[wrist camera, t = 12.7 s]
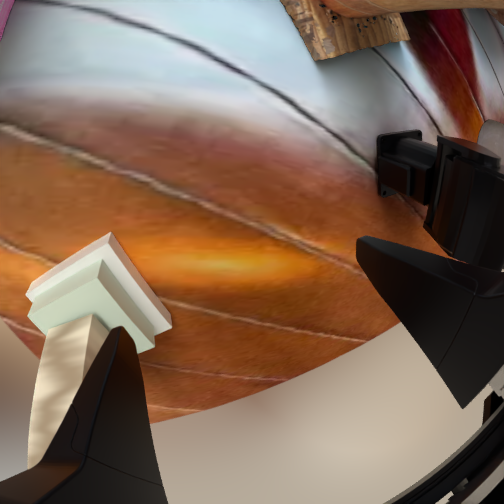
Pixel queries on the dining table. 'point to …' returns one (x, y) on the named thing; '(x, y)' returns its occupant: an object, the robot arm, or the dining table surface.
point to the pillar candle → (493, 138)
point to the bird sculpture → (361, 21)
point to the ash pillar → (61, 378)
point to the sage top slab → (92, 305)
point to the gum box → (4, 13)
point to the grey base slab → (121, 270)
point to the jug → (497, 14)
